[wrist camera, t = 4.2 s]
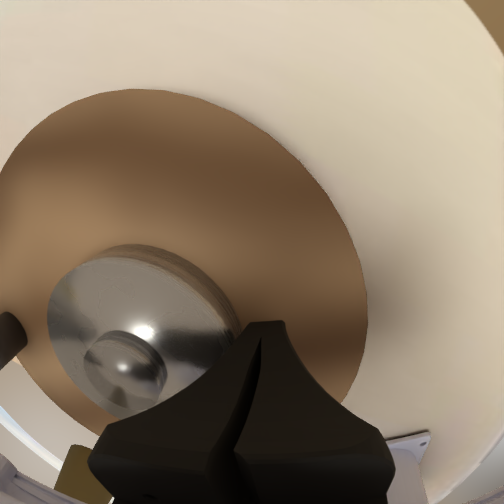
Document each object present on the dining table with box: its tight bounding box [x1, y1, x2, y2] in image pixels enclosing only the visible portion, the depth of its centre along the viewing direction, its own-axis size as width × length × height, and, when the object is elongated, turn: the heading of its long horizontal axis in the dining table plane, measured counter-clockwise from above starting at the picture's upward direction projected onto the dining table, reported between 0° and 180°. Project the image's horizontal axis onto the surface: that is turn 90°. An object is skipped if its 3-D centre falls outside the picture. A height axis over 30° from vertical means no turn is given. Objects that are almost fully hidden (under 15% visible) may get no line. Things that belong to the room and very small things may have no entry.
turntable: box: [0, 89, 368, 436], centre depth 11 cm, size 20×20×5 cm
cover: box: [47, 244, 242, 420], centre depth 11 cm, size 8×8×3 cm
